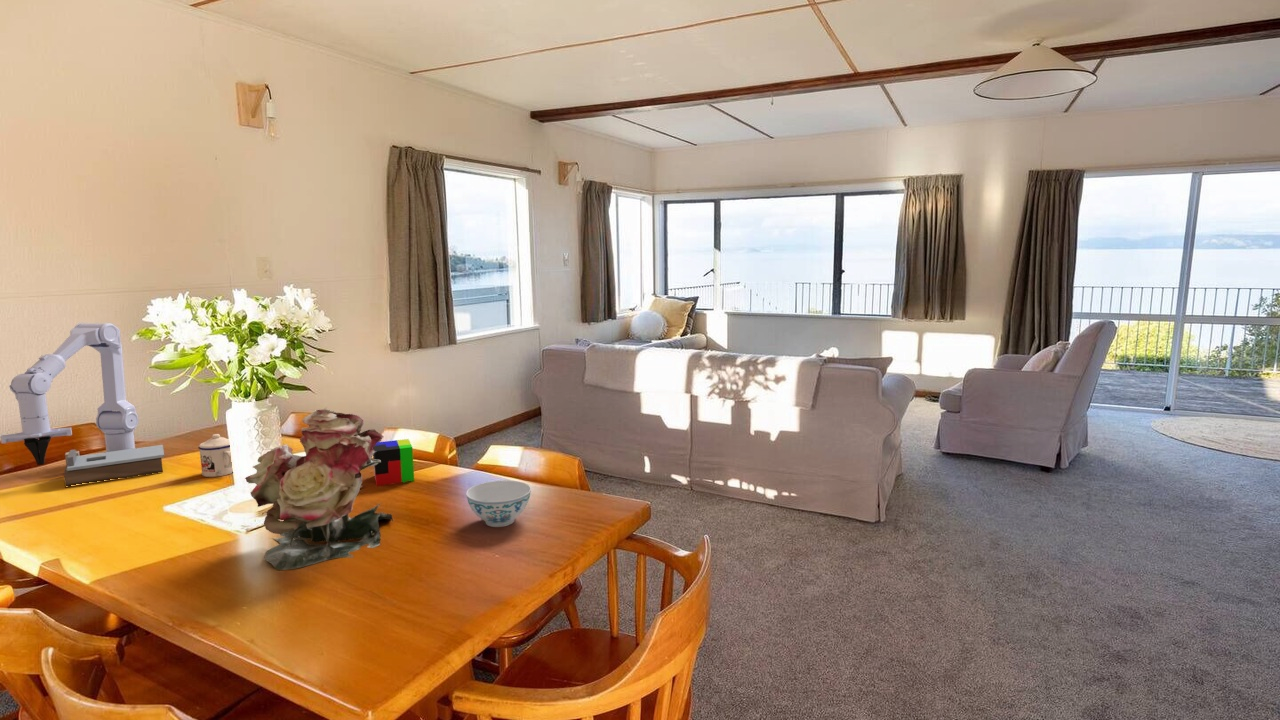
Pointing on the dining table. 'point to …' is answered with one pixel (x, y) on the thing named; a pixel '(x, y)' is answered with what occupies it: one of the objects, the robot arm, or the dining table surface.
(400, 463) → the puzzle toy
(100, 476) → the toolbox
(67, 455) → the wooden block
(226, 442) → the teacup with lid
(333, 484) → the rose bouquet
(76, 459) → the toolbox lid
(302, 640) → the dining table surface
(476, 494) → the chinaware
